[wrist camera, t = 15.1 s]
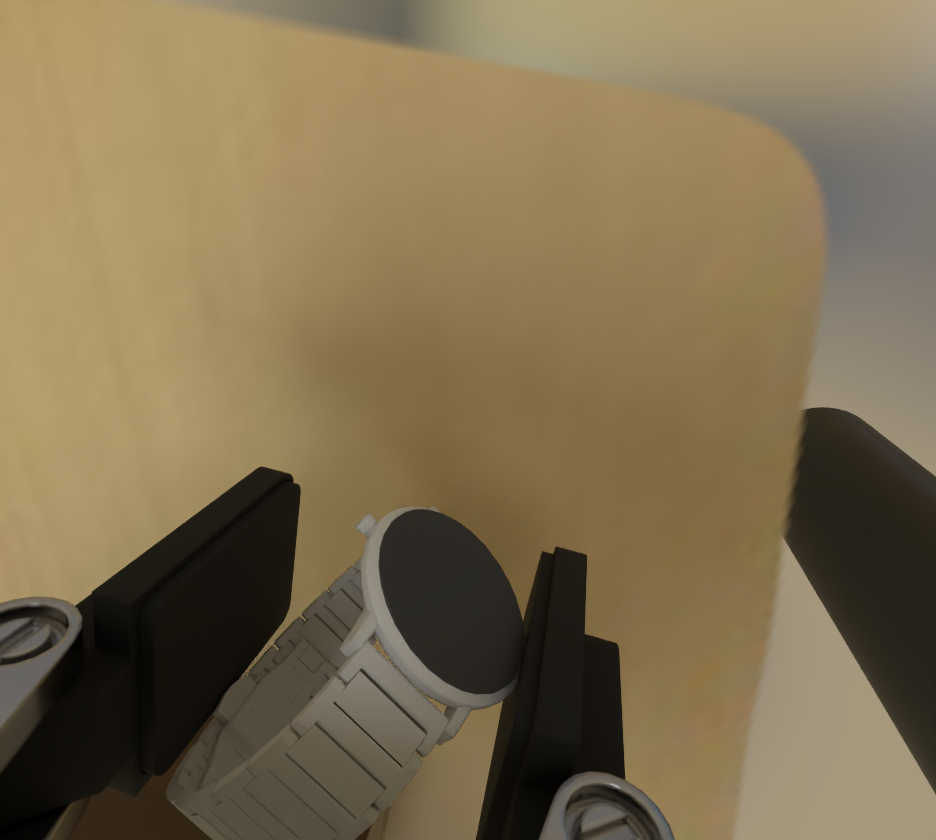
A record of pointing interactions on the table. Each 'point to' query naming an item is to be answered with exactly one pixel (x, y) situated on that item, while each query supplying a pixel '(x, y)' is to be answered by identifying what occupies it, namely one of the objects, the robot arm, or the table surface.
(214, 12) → the table surface
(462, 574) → the wristwatch
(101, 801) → the cabinet
